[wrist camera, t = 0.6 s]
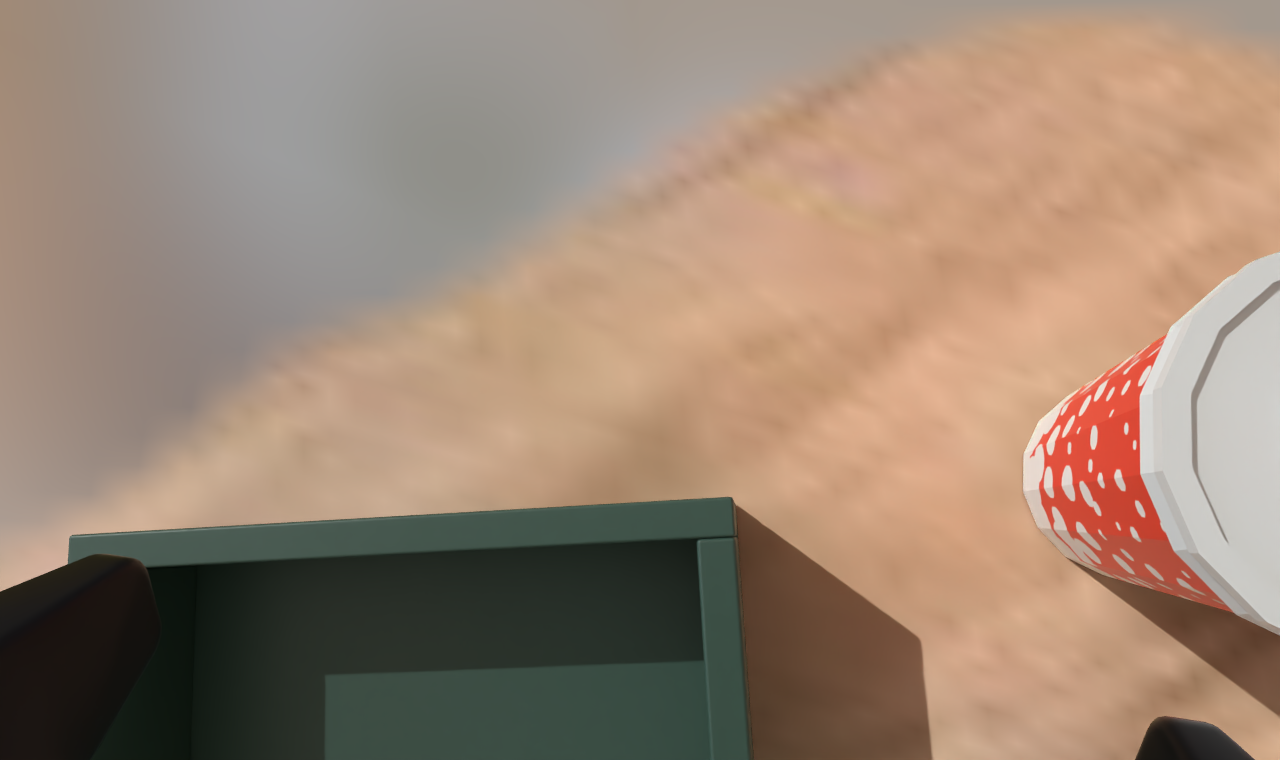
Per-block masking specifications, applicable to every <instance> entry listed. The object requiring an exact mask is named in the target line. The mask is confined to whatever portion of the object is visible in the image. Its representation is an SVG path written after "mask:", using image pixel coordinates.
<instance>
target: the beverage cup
mask: <svg viewBox="0 0 1280 760" xmlns="http://www.w3.org/2000/svg"><path fill="white" fill-rule="evenodd" d="M1023 492H1024V495H1025V497H1026V500H1027V502H1028V505H1029V507H1030V510H1031V512H1032V515H1033V517H1034V520H1035V522H1036V525H1037V527H1038V528H1039V529H1040V531H1041V532H1042V533H1043V534H1044V535H1045V536H1046V537H1047V538H1048V539H1049V540H1050V541H1051V542H1052V543H1053V544H1054V545H1055V546H1056V547H1057V548H1058V549H1059V551H1060V552H1061V553H1062V554H1063V555H1064V556H1065V557H1067V558H1069V559H1071V560H1073V561H1075V562H1077V563H1079V564H1081V565H1083V566H1085V567H1087V568H1089V569H1091V570H1093V571H1095V572H1098V573H1100V574H1102V575H1104V576H1108V577H1111V578H1115V579H1118V580H1122V581H1125V582H1129V583H1132V584H1136V585H1139V586H1143V587H1146V588H1150V589H1153V590H1157V591H1160V592H1164V593H1167V594H1171V595H1174V596H1178V597H1181V598H1185V599H1188V600H1191V601H1195V602H1198V603H1202V604H1205V605H1209V606H1212V607H1216V608H1219V609H1223V610H1226V611H1230V612H1233V613H1235V614H1236V615H1238V616H1240V617H1242V618H1244V619H1246V620H1248V621H1250V622H1252V623H1254V624H1256V625H1258V626H1261V627H1263V628H1265V629H1267V630H1269V631H1271V632H1273V633H1275V634H1277V635H1279V636H1280V252H1278V253H1275V254H1272V255H1269V256H1266V257H1263V258H1260V259H1256V260H1255V261H1253V262H1251V263H1249V264H1247V265H1245V266H1244V267H1243V268H1242V269H1241V270H1240V271H1239V272H1237V273H1236V274H1235V275H1232V276H1229V277H1227V278H1226V279H1225V280H1224V281H1223V282H1222V283H1221V284H1219V285H1218V286H1217V287H1216V288H1215V289H1214V290H1212V291H1211V292H1210V293H1209V294H1208V295H1207V296H1206V297H1204V298H1203V299H1202V300H1201V301H1200V302H1199V303H1198V304H1196V305H1195V306H1194V307H1193V308H1192V309H1191V310H1190V311H1188V312H1187V313H1186V314H1185V315H1184V316H1183V317H1182V318H1180V319H1179V320H1178V321H1177V322H1176V323H1175V324H1174V325H1172V326H1171V327H1170V330H1169V332H1168V334H1166V335H1165V336H1163V337H1162V338H1160V339H1158V340H1157V341H1155V342H1154V343H1152V344H1150V345H1149V346H1147V347H1146V348H1144V349H1142V350H1141V351H1139V352H1137V353H1136V354H1134V355H1133V356H1131V357H1129V358H1128V359H1126V360H1125V361H1123V362H1121V363H1120V364H1118V365H1117V366H1115V367H1113V368H1112V369H1110V370H1109V371H1107V372H1105V373H1104V374H1102V375H1101V376H1099V377H1097V378H1096V379H1094V380H1093V381H1091V382H1089V383H1088V384H1086V385H1084V386H1083V387H1081V388H1080V389H1078V390H1076V391H1075V392H1073V393H1072V394H1070V395H1068V396H1067V397H1066V398H1064V399H1063V400H1062V401H1061V402H1060V403H1059V404H1058V405H1056V406H1055V407H1054V408H1053V409H1052V410H1051V411H1050V412H1048V413H1047V414H1046V415H1045V416H1044V417H1043V418H1042V419H1040V420H1039V422H1038V424H1037V426H1036V428H1035V430H1034V433H1033V435H1032V437H1031V439H1030V441H1029V443H1028V446H1027V448H1026V450H1025V452H1024V461H1023Z"/></svg>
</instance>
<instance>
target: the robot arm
mask: <svg viewBox="0 0 1280 760" xmlns="http://www.w3.org/2000/svg"><path fill="white" fill-rule="evenodd" d="M161 628H162V625H161V620H160V616H159V612H158V609H157V605H156V601H155V597H154V593H153V590H152V586H151V582H150V578H149V575H148V571H147V569H146V567H145V566H144V565H143V563H142V562H141V561H140V560H137V559H135V558H131V557H125V556H118V555H112V554H93V555H90V556H87V557H85V558H82V559H80V560H77V561H75V562H72V563H70V564H67V565H65V566H63V567H60V568H58V569H55V570H53V571H50V572H48V573H45V574H43V575H40V576H38V577H35V578H33V579H31V580H28V581H26V582H23V583H21V584H18V585H16V586H13V587H11V588H8V589H6V590H3V591H1V592H0V760H92V758H93V756H94V755H95V753H96V751H97V750H98V748H99V746H100V745H101V743H102V741H103V739H104V738H105V736H106V734H107V733H108V731H109V729H110V728H111V726H112V724H113V723H114V721H115V719H116V718H117V716H118V714H119V713H120V711H121V709H122V708H123V706H124V704H125V702H126V701H127V699H128V697H129V696H130V694H131V692H132V691H133V689H134V687H135V686H136V684H137V682H138V681H139V679H140V677H141V676H142V674H143V672H144V671H145V669H146V667H147V665H148V664H149V662H150V660H151V659H152V657H153V655H154V654H155V652H156V650H157V647H158V644H159V642H160V637H161ZM1135 760H1255V759H1253V758H1252V757H1251V756H1250V755H1249V754H1248V753H1247V752H1246V751H1244V750H1243V749H1242V748H1241V747H1240V746H1239V745H1238V744H1237V743H1235V742H1234V741H1233V740H1232V739H1231V738H1230V737H1229V736H1228V735H1226V734H1225V733H1224V732H1223V731H1221V730H1220V729H1219V728H1218V727H1216V726H1214V725H1212V724H1209V723H1206V722H1201V721H1194V720H1188V719H1181V718H1175V717H1168V716H1164V717H1158V718H1156V719H1155V720H1154V721H1153V722H1152V723H1151V724H1150V726H1149V728H1148V730H1147V732H1146V735H1145V737H1144V739H1143V742H1142V744H1141V747H1140V749H1139V752H1138V754H1137V756H1136V759H1135Z"/></svg>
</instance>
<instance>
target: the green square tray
mask: <svg viewBox="0 0 1280 760" xmlns="http://www.w3.org/2000/svg"><path fill="white" fill-rule="evenodd" d="M93 554H112V555H118V556H125V557H131V558H135V559H137V560H140V561H141V562H142V563H143V565H144V566H145V567H146V569H147V571H148V575H149V578H150V582H151V586H152V590H153V593H154V597H155V601H156V605H157V609H158V612H159V616H160V620H161V625H162V628H161V637H160V642H159V644H158V647H157V650H156V652H155V654H154V655H153V657H152V659H151V660H150V662H149V664H148V665H147V667H146V669H145V671H144V672H143V674H142V676H141V677H140V679H139V681H138V682H137V684H136V686H135V687H134V689H133V691H132V692H131V694H130V696H129V697H128V699H127V701H126V702H125V704H124V706H123V708H122V709H121V711H120V713H119V714H118V716H117V718H116V719H115V721H114V723H113V724H112V726H111V728H110V729H109V731H108V733H107V734H106V736H105V738H104V739H103V741H102V743H101V745H100V746H99V748H98V750H97V751H96V753H95V755H94V756H93V758H92V760H754V756H753V742H752V728H751V714H750V700H749V686H748V672H747V658H746V644H745V629H744V615H743V601H742V587H741V573H740V559H739V545H738V531H737V517H736V505H735V503H734V501H733V499H732V498H731V497H720V498H703V499H686V500H668V501H651V502H634V503H617V504H599V505H582V506H565V507H548V508H530V509H513V510H496V511H479V512H461V513H444V514H427V515H410V516H392V517H375V518H358V519H340V520H323V521H306V522H289V523H271V524H254V525H237V526H220V527H202V528H185V529H168V530H151V531H133V532H116V533H99V534H82V535H72V536H70V538H69V554H68V564H70V563H72V562H75V561H77V560H80V559H82V558H85V557H87V556H90V555H93Z"/></svg>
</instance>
